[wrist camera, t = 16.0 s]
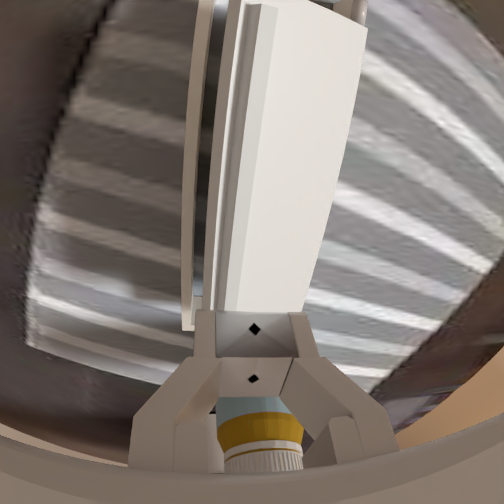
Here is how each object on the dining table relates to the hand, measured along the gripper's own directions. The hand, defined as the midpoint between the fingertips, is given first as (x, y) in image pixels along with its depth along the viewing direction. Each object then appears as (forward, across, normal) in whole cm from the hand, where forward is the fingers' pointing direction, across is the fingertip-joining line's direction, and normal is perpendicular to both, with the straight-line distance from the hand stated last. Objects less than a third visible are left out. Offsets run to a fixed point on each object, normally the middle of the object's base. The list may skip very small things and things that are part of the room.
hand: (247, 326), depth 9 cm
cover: (+9, -2, 0) cm, 9 cm away
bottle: (+15, -4, +18) cm, 24 cm away
